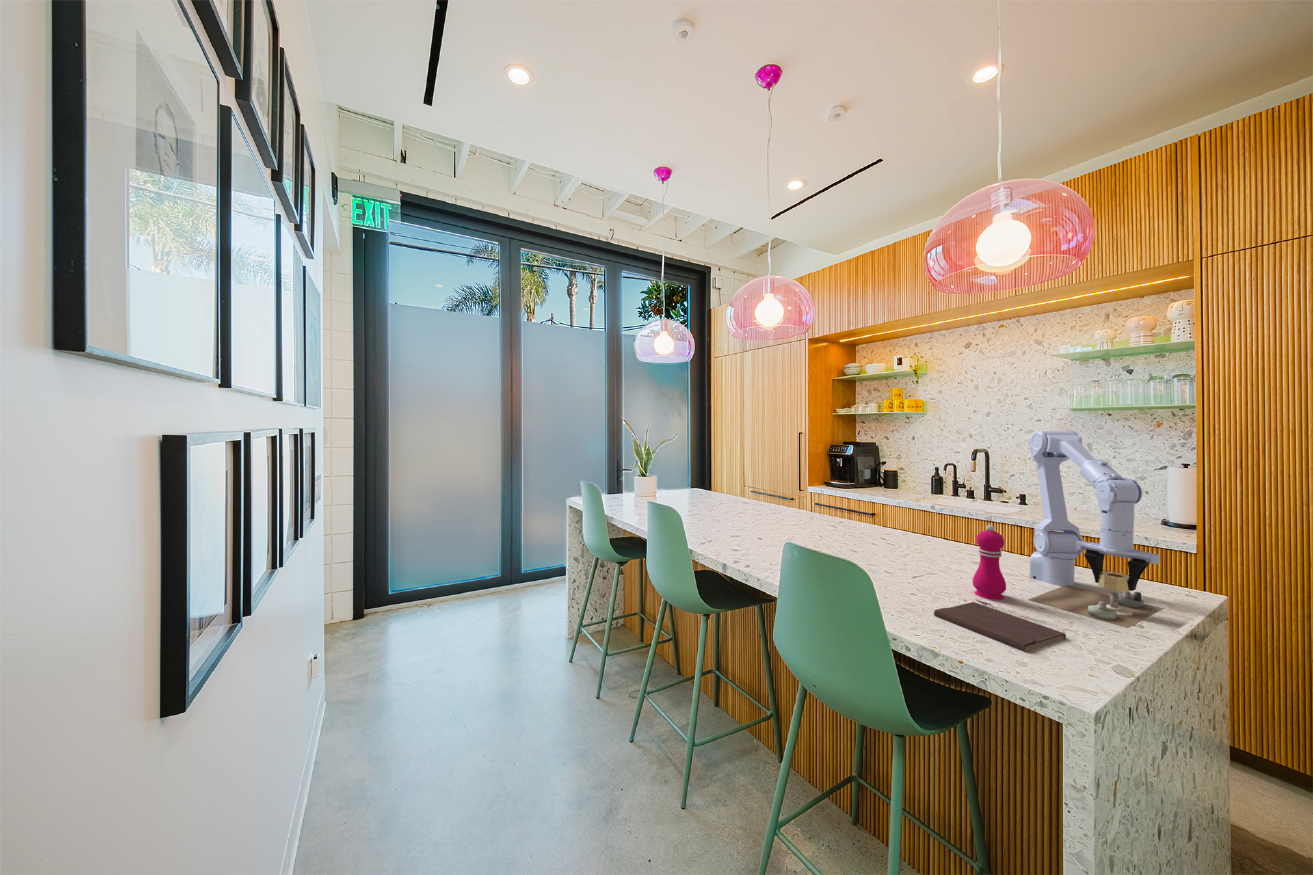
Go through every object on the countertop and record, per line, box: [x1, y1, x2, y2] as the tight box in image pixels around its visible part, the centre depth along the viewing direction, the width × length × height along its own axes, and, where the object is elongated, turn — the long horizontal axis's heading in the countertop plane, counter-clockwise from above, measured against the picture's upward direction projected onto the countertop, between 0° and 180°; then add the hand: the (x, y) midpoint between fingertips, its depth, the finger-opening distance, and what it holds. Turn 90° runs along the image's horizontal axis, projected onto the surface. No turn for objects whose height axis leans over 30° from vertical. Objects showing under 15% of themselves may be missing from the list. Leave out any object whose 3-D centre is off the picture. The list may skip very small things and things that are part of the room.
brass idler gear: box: [1097, 571, 1131, 593], centre depth 115 cm, size 5×5×3 cm
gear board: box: [1027, 585, 1164, 629], centre depth 119 cm, size 19×22×6 cm
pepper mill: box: [972, 524, 1007, 606], centre depth 125 cm, size 7×7×20 cm
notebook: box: [933, 601, 1067, 652], centre depth 110 cm, size 15×20×2 cm
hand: (1114, 585), depth 115 cm, fingers closed on brass idler gear, 5 cm apart
